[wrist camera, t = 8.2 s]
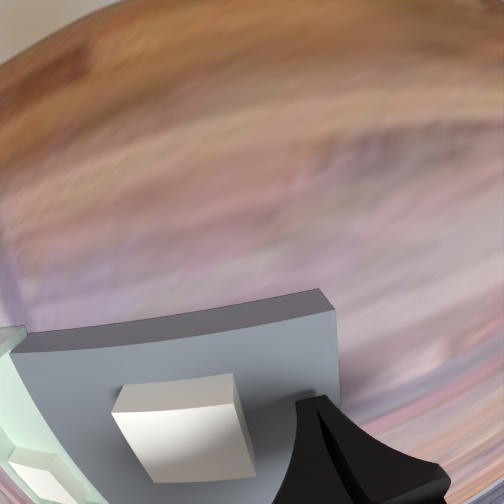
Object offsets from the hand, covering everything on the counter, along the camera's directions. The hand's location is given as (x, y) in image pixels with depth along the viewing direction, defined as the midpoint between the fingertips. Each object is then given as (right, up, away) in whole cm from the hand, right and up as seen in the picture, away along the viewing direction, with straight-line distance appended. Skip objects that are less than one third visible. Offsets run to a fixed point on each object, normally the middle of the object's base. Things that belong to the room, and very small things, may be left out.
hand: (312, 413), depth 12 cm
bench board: (-6, -4, +4) cm, 8 cm away
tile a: (-19, -11, +2) cm, 22 cm away
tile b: (-5, -1, +1) cm, 6 cm away
